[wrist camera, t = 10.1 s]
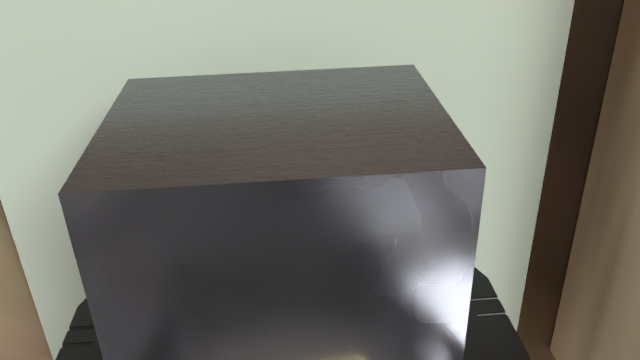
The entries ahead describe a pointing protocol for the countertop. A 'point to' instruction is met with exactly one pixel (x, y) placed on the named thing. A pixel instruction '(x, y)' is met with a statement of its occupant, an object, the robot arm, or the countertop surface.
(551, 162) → the countertop surface
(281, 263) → the dark gray block
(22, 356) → the countertop surface
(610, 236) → the body
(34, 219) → the mat
